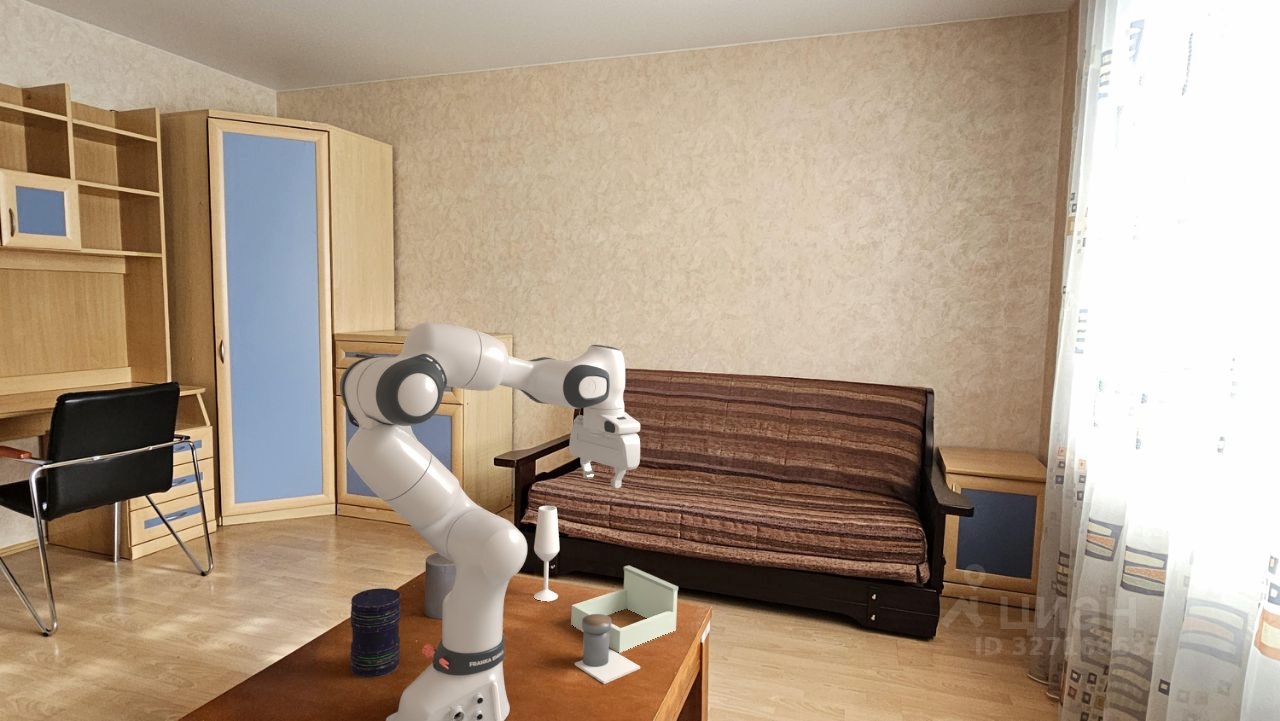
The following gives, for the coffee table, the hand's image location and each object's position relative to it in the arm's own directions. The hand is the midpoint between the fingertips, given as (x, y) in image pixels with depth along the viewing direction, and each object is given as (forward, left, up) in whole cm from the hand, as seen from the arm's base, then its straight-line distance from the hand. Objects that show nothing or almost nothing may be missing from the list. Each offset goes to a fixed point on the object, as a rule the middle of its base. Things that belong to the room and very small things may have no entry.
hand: (601, 482), depth 153 cm
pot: (-2, -2, -39) cm, 39 cm away
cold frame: (+14, +7, -39) cm, 42 cm away
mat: (-1, -5, -39) cm, 39 cm away
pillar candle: (-15, +42, -39) cm, 60 cm away
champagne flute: (+10, +34, -39) cm, 53 cm away
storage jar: (-39, +26, -39) cm, 61 cm away
